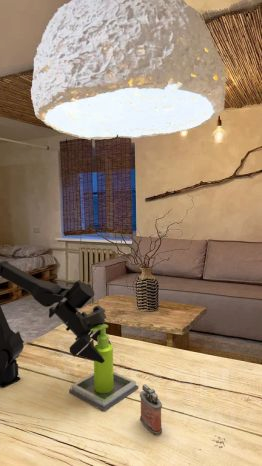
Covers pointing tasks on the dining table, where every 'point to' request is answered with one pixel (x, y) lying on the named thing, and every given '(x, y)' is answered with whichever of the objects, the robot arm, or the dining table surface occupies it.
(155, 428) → the lighter
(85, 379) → the holder
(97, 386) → the soap dispenser
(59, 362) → the dining table surface
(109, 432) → the dining table surface
